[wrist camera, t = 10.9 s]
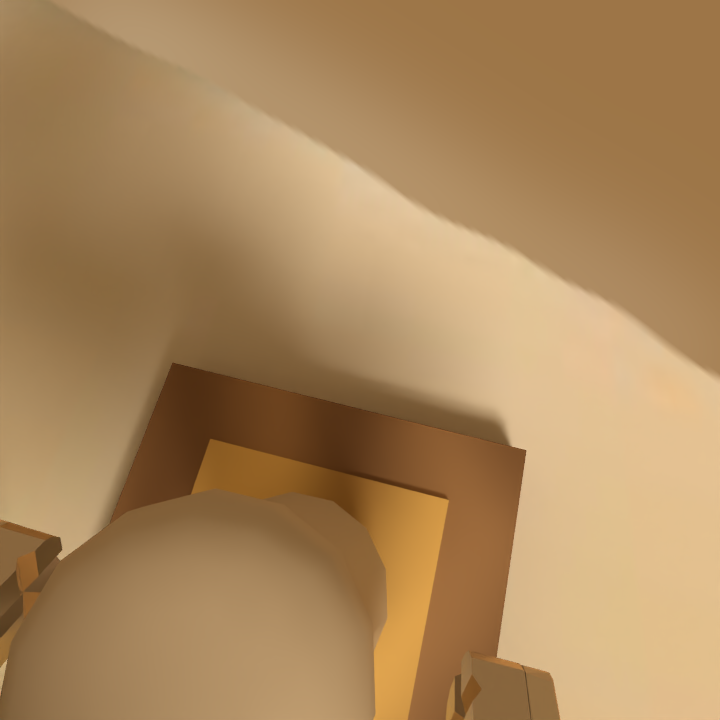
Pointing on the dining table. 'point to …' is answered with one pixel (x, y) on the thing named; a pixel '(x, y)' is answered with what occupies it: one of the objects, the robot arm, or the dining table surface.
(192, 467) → the base board
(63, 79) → the dining table surface
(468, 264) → the dining table surface
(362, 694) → the salt shaker
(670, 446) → the dining table surface
